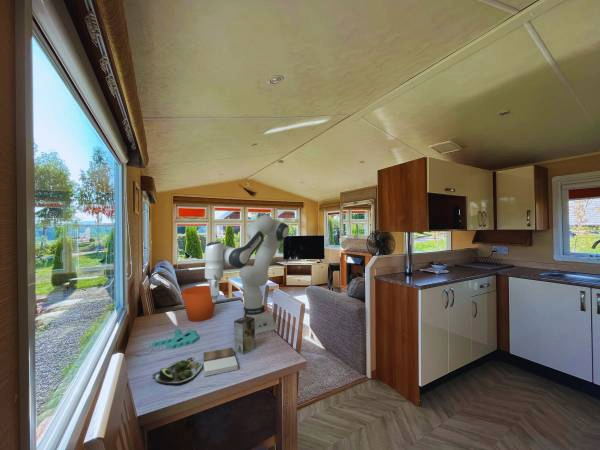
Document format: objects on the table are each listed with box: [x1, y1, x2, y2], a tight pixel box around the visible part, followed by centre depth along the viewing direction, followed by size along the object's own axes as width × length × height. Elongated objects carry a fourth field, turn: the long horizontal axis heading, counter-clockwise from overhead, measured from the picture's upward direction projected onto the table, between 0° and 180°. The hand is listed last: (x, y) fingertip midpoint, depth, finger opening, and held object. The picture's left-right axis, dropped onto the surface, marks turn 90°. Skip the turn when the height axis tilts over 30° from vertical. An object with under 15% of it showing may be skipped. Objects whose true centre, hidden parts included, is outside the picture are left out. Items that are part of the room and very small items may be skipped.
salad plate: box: [151, 357, 203, 387], centre depth 113 cm, size 19×18×5 cm
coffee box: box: [233, 316, 256, 356], centre depth 133 cm, size 9×6×16 cm
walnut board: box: [203, 347, 236, 363], centre depth 124 cm, size 14×9×2 cm, turn 112°
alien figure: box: [151, 328, 200, 350], centre depth 145 cm, size 20×2×20 cm
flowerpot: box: [180, 285, 218, 323], centre depth 180 cm, size 25×25×20 cm
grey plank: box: [203, 356, 239, 377], centre depth 116 cm, size 14×9×2 cm, turn 112°
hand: (214, 301), depth 127 cm, fingers closed
